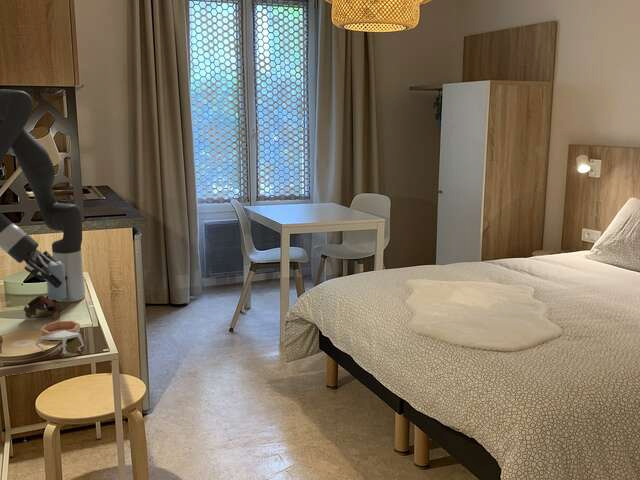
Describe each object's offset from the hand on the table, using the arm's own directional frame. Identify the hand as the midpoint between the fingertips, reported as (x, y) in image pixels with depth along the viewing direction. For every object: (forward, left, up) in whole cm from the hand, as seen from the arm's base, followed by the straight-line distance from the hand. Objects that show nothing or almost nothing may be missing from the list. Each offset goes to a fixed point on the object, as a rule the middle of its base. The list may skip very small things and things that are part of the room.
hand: (62, 282), depth 189 cm
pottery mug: (-16, -11, -16) cm, 25 cm away
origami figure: (+12, +2, -16) cm, 20 cm away
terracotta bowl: (0, -2, -16) cm, 16 cm away
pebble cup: (0, -2, -4) cm, 5 cm away
